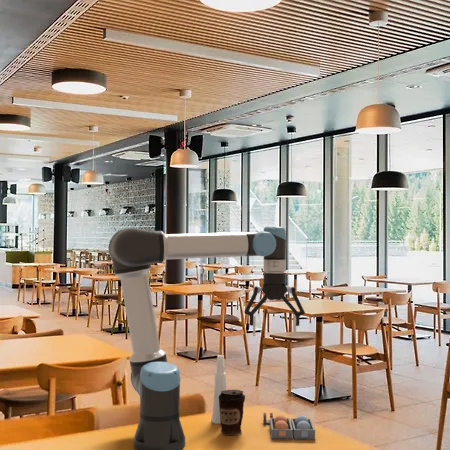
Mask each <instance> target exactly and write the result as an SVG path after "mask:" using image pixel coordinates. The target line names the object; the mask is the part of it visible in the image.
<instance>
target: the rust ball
mask: <svg viewBox="0 0 450 450" xmlns="http://www.w3.org/2000/svg"><path fill="white" fill-rule="evenodd" d="M273 418H274V426H275V424H276V422H278V421H281V420H282V421H285V422H286V423H287V419H286V416H284V415H282V414H278V415H276V416H275V417H273Z"/></svg>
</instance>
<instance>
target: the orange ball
mask: <svg viewBox="0 0 450 450" xmlns="http://www.w3.org/2000/svg"><path fill="white" fill-rule="evenodd" d="M274 429H288V424H287V423H286V422H285V421H282V420H281V421H278V422H276V424H275V426H274Z"/></svg>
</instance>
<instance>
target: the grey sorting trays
mask: <svg viewBox="0 0 450 450" xmlns="http://www.w3.org/2000/svg"><path fill="white" fill-rule="evenodd" d="M274 418H275V417H273V418H270V417H269V420H270V425H269V429H270V438H271V440H289V441H290V440H291V441H292V440H294V441H295V440H296V441H297V440H299V441H316V429H315V425H314V424H313V421H312V418H307V419H308V421H309V424H310V427H311V430H310V429H297V428H296V425H295V419H296V418H297V417H296V418H286V419H287V424H288V429H274Z"/></svg>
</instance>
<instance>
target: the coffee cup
mask: <svg viewBox="0 0 450 450" xmlns="http://www.w3.org/2000/svg"><path fill="white" fill-rule="evenodd" d="M245 400H246V395H245V394H244V391H243V390H240V389H227V390H224V391H221V394H220V395H219V409H220V423H221V424H220V432H221V434H222V435H226V436H238V435H241V434H242V423H243V418H244V417H243V416H244V407H245V406H244V404H245Z"/></svg>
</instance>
